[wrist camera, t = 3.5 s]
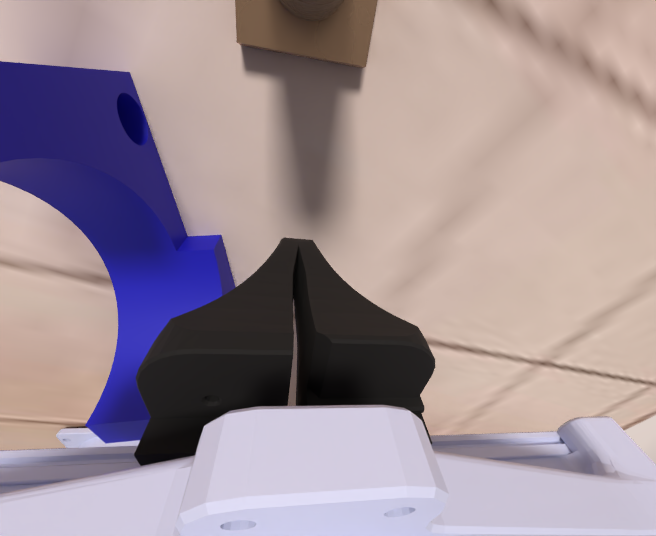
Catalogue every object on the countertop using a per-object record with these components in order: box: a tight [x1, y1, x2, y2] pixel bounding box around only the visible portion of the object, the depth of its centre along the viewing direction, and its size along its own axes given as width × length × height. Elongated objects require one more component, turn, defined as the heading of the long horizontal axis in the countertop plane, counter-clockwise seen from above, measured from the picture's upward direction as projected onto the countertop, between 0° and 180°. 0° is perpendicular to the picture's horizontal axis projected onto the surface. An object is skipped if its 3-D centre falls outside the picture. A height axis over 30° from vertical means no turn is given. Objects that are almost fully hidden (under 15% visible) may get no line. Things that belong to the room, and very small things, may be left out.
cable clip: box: [0, 61, 235, 444], centre depth 10 cm, size 12×4×6 cm, turn 1°
